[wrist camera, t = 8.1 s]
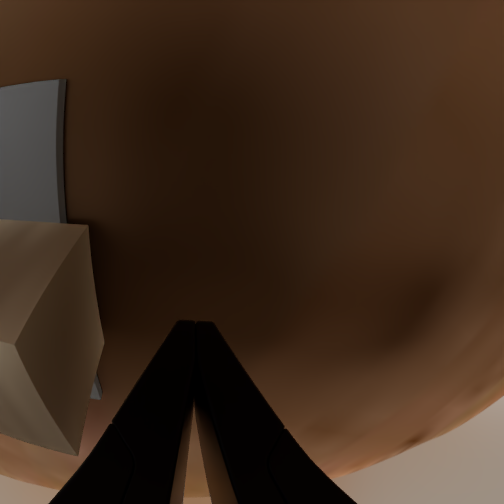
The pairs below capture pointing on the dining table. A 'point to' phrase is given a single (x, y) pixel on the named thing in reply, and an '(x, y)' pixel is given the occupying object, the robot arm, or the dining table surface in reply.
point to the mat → (33, 156)
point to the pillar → (47, 332)
